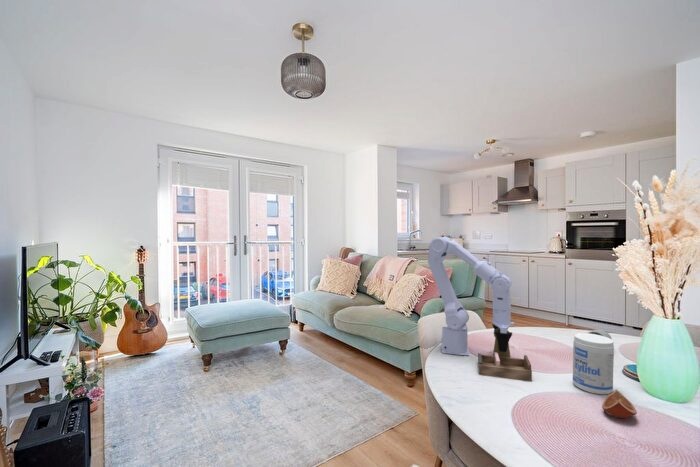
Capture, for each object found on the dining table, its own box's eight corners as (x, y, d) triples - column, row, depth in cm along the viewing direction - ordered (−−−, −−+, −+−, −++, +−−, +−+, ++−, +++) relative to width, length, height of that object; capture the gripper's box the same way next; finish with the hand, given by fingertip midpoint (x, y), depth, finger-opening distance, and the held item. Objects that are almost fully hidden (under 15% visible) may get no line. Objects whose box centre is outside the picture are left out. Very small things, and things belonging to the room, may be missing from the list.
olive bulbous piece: (507, 357, 121) (507, 326, 121) (513, 363, 115) (513, 332, 115) (490, 356, 122) (490, 326, 122) (495, 363, 116) (495, 331, 115)
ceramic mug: (613, 349, 128) (612, 329, 128) (608, 354, 123) (607, 334, 123) (580, 343, 136) (580, 324, 136) (574, 347, 130) (574, 328, 131)
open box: (479, 374, 107) (479, 360, 107) (478, 362, 116) (477, 349, 116) (531, 381, 102) (531, 366, 102) (526, 368, 111) (526, 354, 111)
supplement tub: (570, 388, 97) (570, 338, 97) (574, 377, 104) (574, 330, 104) (613, 399, 91) (613, 345, 91) (614, 386, 98) (614, 336, 98)
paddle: (496, 372, 106) (496, 360, 106) (494, 363, 113) (494, 352, 113) (499, 372, 106) (499, 361, 106) (497, 363, 113) (497, 352, 113)
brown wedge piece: (602, 404, 88) (602, 385, 88) (635, 412, 84) (635, 393, 84) (602, 418, 82) (602, 398, 82) (638, 428, 78) (638, 407, 78)
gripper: (517, 315, 110) (517, 356, 110) (511, 305, 124) (511, 342, 124) (493, 313, 112) (493, 353, 112) (490, 304, 126) (490, 340, 126)
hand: (501, 347), depth 118 cm, fingers open, 7 cm apart
